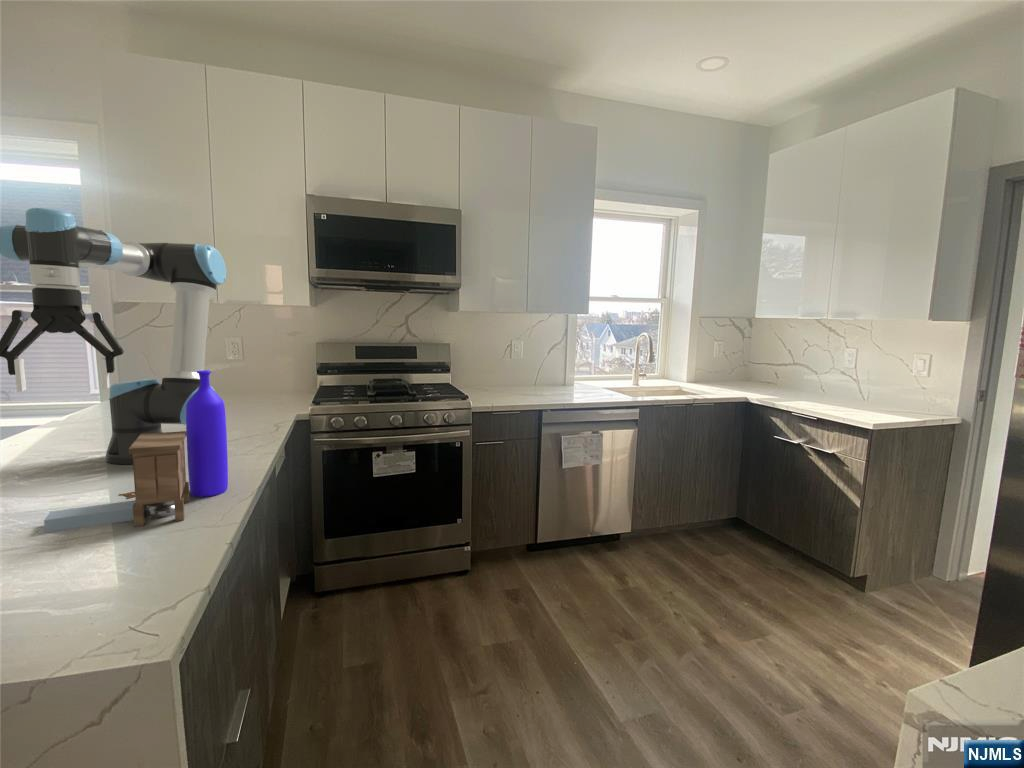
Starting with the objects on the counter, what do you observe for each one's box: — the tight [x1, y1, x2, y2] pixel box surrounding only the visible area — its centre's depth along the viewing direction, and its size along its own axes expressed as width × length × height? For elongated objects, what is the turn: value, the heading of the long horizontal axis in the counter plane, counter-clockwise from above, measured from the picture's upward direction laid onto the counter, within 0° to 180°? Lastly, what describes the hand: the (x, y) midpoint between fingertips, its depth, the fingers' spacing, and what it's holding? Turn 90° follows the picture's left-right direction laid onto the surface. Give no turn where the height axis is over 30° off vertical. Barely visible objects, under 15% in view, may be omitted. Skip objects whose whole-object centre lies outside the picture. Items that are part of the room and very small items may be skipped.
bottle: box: [185, 369, 229, 498], centre depth 120 cm, size 8×8×30 cm
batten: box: [43, 500, 136, 534], centre depth 103 cm, size 5×15×3 cm, turn 122°
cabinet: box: [129, 430, 190, 528], centre depth 107 cm, size 14×8×16 cm, turn 28°
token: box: [145, 501, 175, 519], centre depth 108 cm, size 6×6×2 cm
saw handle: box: [117, 491, 135, 500], centre depth 126 cm, size 24×5×1 cm, turn 142°
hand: (65, 389), depth 105 cm, fingers open, 13 cm apart
